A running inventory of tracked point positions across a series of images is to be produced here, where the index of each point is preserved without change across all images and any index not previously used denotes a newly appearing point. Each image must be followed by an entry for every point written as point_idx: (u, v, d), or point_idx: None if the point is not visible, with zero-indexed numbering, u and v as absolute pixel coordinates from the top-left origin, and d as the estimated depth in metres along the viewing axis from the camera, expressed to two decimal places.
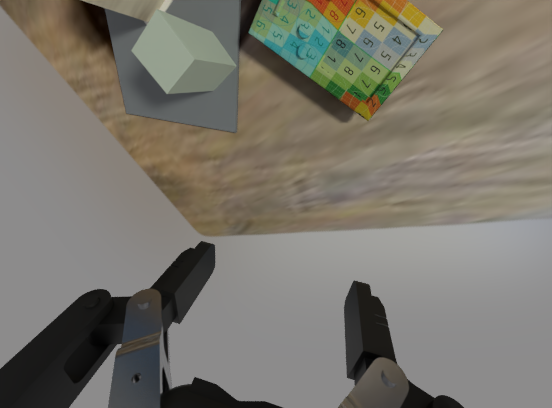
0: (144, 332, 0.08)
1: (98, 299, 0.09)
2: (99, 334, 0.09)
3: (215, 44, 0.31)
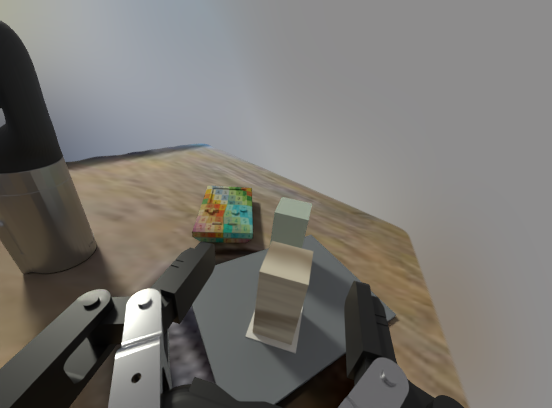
0: (144, 332, 0.08)
1: (98, 299, 0.09)
2: (99, 334, 0.09)
3: None
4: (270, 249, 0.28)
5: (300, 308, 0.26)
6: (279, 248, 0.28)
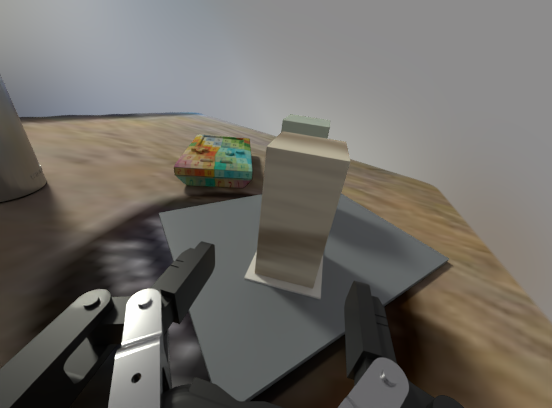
0: (144, 332, 0.08)
1: (98, 299, 0.09)
2: (99, 334, 0.09)
3: None
4: (281, 135, 0.18)
5: (332, 215, 0.16)
6: (295, 136, 0.18)
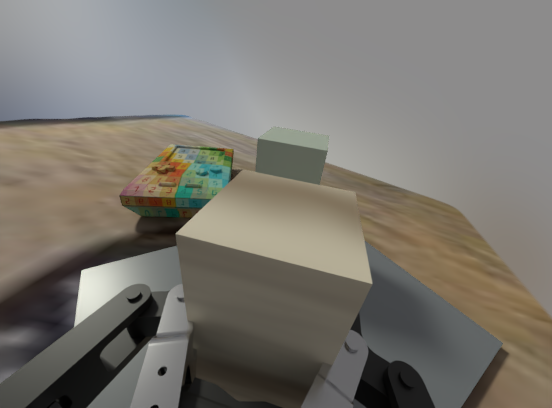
0: (177, 326, 0.08)
1: (139, 293, 0.09)
2: (136, 328, 0.09)
3: None
4: (234, 183, 0.10)
5: (328, 363, 0.08)
6: (261, 182, 0.10)
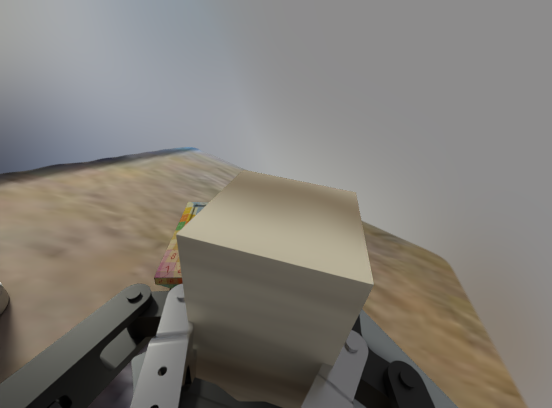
0: (177, 326, 0.08)
1: (139, 293, 0.09)
2: (136, 328, 0.09)
3: None
4: (235, 183, 0.10)
5: (329, 364, 0.08)
6: (261, 183, 0.10)
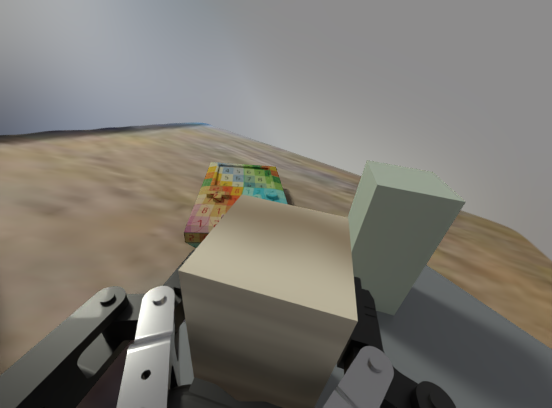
0: (156, 329, 0.08)
1: (114, 296, 0.09)
2: (113, 331, 0.09)
3: None
4: (233, 211, 0.10)
5: (320, 386, 0.08)
6: (258, 209, 0.11)
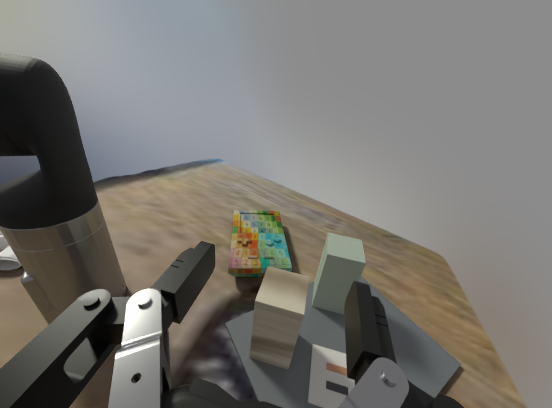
0: (144, 332, 0.08)
1: (98, 299, 0.09)
2: (99, 334, 0.09)
3: (315, 284, 0.39)
4: (266, 275, 0.28)
5: (296, 336, 0.26)
6: (275, 274, 0.28)
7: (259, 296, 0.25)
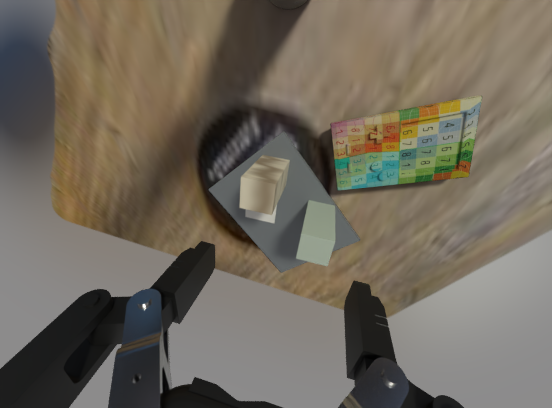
0: (144, 332, 0.08)
1: (98, 299, 0.09)
2: (99, 334, 0.09)
3: (319, 208, 0.44)
4: (264, 183, 0.33)
5: None
6: (268, 190, 0.34)
7: (244, 179, 0.34)
